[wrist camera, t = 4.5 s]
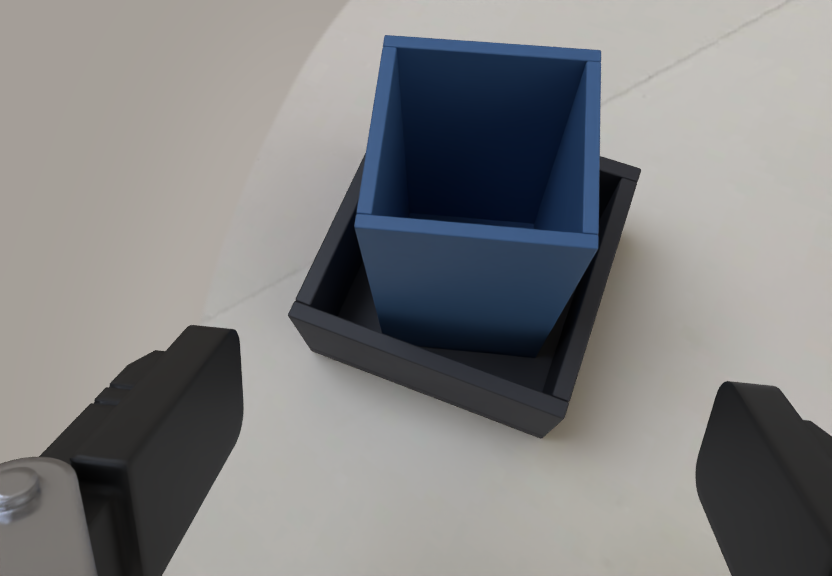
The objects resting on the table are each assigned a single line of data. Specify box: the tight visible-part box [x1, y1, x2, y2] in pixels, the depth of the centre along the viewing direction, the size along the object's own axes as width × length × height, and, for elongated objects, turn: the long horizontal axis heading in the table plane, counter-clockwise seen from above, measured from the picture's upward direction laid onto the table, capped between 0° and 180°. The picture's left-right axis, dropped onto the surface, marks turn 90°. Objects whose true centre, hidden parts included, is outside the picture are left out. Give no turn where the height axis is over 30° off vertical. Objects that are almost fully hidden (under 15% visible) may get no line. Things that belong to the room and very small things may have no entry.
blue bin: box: [354, 35, 601, 358], centre depth 22 cm, size 6×6×10 cm
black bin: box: [288, 153, 641, 438], centre depth 25 cm, size 10×10×5 cm
